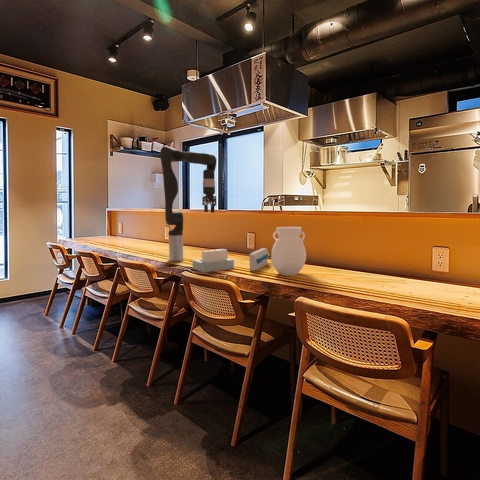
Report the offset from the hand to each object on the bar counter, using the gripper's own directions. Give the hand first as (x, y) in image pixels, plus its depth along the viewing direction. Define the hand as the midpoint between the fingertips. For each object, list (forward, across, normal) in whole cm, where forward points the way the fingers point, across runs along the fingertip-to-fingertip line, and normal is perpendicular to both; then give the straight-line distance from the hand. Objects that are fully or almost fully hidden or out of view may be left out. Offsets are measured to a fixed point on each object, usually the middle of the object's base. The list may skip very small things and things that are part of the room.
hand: (209, 212), depth 217 cm
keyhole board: (+32, +18, -8) cm, 38 cm away
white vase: (+32, +55, +18) cm, 66 cm away
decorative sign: (+32, +30, +19) cm, 48 cm away
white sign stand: (+31, +20, -8) cm, 38 cm away
